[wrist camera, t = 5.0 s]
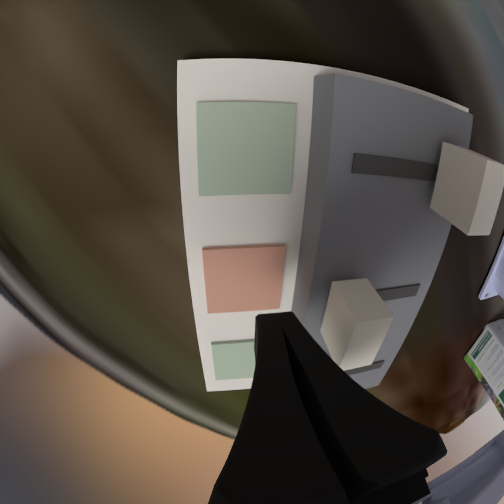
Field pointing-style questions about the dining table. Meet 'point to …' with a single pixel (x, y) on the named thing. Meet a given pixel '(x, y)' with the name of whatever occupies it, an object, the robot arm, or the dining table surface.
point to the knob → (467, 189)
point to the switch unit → (305, 199)
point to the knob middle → (354, 323)
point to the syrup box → (490, 362)
